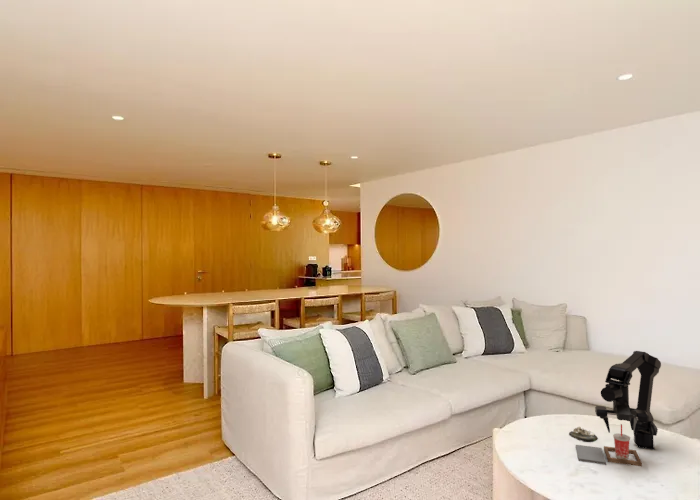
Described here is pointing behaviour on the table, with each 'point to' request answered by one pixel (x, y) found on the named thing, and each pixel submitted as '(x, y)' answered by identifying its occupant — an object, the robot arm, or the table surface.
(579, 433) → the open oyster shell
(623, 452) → the beverage cup
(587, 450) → the rubber mat
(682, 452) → the table surface
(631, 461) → the socket collar
